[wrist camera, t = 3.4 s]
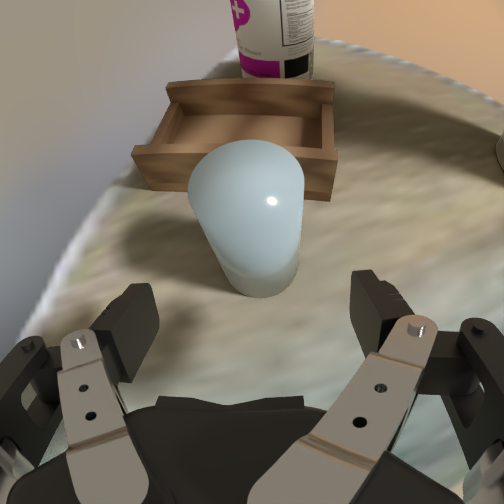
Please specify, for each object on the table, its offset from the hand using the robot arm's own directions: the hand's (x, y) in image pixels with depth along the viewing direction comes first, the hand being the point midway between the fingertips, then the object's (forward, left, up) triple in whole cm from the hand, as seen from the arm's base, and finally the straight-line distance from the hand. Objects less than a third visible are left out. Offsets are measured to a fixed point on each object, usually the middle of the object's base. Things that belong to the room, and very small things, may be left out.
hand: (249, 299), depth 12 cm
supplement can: (+2, -29, -10) cm, 31 cm away
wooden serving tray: (+4, -17, -10) cm, 20 cm away
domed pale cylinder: (+1, -6, -10) cm, 12 cm away
